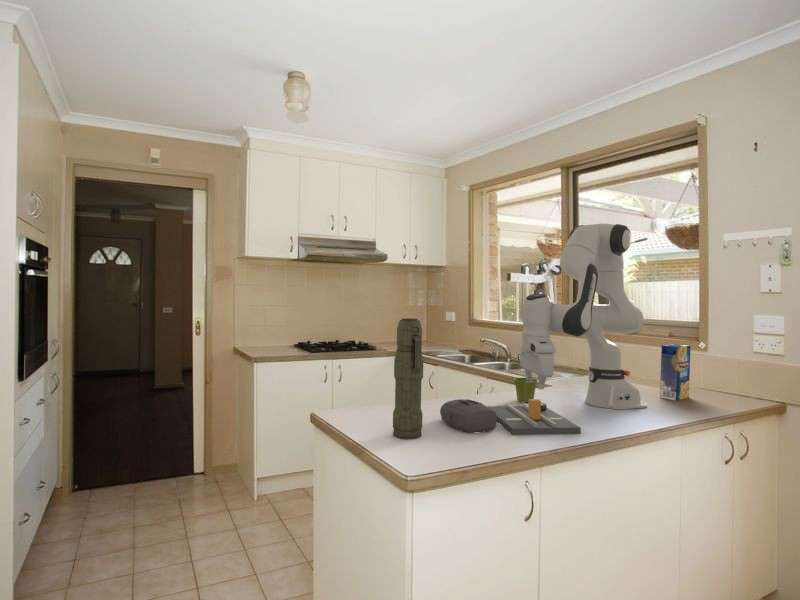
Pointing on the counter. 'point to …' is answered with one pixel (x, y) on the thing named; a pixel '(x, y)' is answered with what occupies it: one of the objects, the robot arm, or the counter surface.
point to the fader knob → (534, 409)
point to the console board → (533, 421)
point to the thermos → (408, 380)
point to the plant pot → (525, 389)
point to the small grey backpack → (468, 415)
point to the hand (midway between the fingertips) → (534, 385)
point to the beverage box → (675, 371)
